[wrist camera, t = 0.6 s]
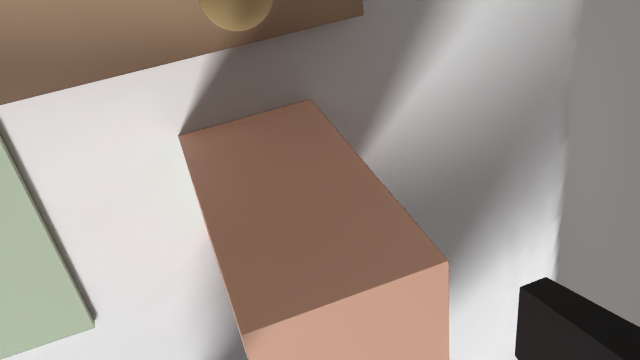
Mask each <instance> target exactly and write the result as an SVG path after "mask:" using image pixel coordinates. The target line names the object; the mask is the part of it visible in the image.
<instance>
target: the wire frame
mask: <svg viewBox="0 0 640 360" xmlns="http://www.w3.org/2000/svg"><path fill="white" fill-rule="evenodd" d="M361 15H363V5H362V0H0V105H3V104H7V103H11V102H15V101H19V100H23V99H27V98H31V97H35V96H39V95H43V94H47V93H51V92H55V91H59V90H63V89H67V88H71V87H75V86H79V85H83V84H87V83H91V82H95V81H99V80H103V79H107V78H111V77H115V76H119V75H124V74H128V73H132V72H136V71H140V70H144V69H148V68H152V67H156V66H160V65H164V64H168V63H172V62H176V61H180V60H184V59H188V58H192V57H196V56H200V55H204V54H208V53H212V52H216V51H220V50H224V49H228V48H232V47H236V46H240V45H244V44H248V43H252V42H256V41H260V40H264V39H269V38H273V37H277V36H281V35H285V34H289V33H293V32H297V31H301V30H305V29H309V28H313V27H317V26H321V25H325V24H329V23H333V22H337V21H341V20H345V19H349V18H353V17H357V16H361Z"/></svg>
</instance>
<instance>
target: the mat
mask: <svg viewBox="0 0 640 360" xmlns="http://www.w3.org/2000/svg"><path fill="white" fill-rule="evenodd" d="M93 328H95V322H94V320H93V318H92V316H91V314H90V312H89V310H88V308H87V306H86V304H85V302H84V300H83V298H82V296H81V294H80V292H79V290H78V288H77V286H76V284H75V282H74V280H73V278H72V276H71V274H70V272H69V270H68V268H67V266H66V264H65V262H64V260H63V258H62V256H61V254H60V253H59V251H58V249H57V247H56V245H55V243H54V241H53V239H52V237H51V235H50V233H49V231H48V229H47V227H46V225H45V223H44V221H43V219H42V217H41V215H40V213H39V211H38V209H37V207H36V205H35V203H34V201H33V199H32V197H31V195H30V193H29V191H28V189H27V187H26V185H25V183H24V181H23V179H22V177H21V175H20V173H19V171H18V169H17V167H16V165H15V163H14V161H13V159H12V157H11V155H10V153H9V151H8V149H7V147H6V145H5V143H4V141H3V139H2V138H1V136H0V360H1V359H4V358H7V357H10V356H13V355H16V354H19V353H22V352H25V351H27V350H30V349H33V348H36V347H39V346H42V345H45V344H48V343H51V342H54V341H57V340H60V339H63V338H66V337H69V336H72V335H75V334H78V333H81V332H84V331H87V330H90V329H93Z"/></svg>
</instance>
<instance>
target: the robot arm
mask: <svg viewBox="0 0 640 360" xmlns="http://www.w3.org/2000/svg"><path fill="white" fill-rule="evenodd" d="M515 356H516V357H517V359H518V360H640V327H638V326H636V325H635V324H633V323H630V322H629V321H627V320H625V319H623V318H621V317H619V316H618V315H616V314H614V313H612V312H610V311H608V310H606V309H604V308H602V307H601V306H599V305H597V304H595V303H593V302H592V301H590V300H588V299H586V298H584V297H582V296H581V295H579V294H577V293H575V292H573V291H571V290H569V289H568V288H566V287H564V286H562V285H560V284H558V283H556V282H555V281H553V280H551V279H549V278H547V277H545V278H542V279H540V280H537V281H535V282H532V283H530V284H527V285H524V286H522V287H520V293H519V307H518V320H517V334H516V347H515Z"/></svg>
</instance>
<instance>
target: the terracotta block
mask: <svg viewBox="0 0 640 360" xmlns="http://www.w3.org/2000/svg"><path fill="white" fill-rule="evenodd" d="M178 137H179V140H180V143H181V147H182V150H183V153H184V156H185V160H186V163H187V166H188V169H189V173H190V176H191V179H192V183H193V186H194V189H195V192H196V196H197V199H198V202H199V205H200V209H201V212H202V215H203V218H204V222H205V225H206V228H207V231H208V235H209V238H210V241H211V244H212V248H213V251H214V254H215V257H216V260H217V263H218V267H219V270H220V273H221V276H222V279H223V283H224V286H225V289H226V292H227V295H228V298H229V302H230V305H231V308H232V311H233V314H234V317H235V321H236V324H237V327H238V330H239V333H240V336H241V340H242V343H243V346H244V349H245V352H246V355H247V359H248V360H449V261H448V260H447V259H446V257H445V256H444V255H443V254H442V253H441V252H440V250H439V249H438V248H437V247H436V246H435V245H434V243H433V242H432V241H431V240H430V239H429V237H428V236H427V235H426V234H425V233H424V232H423V230H422V229H421V228H420V227H419V226H418V225H417V223H416V222H415V221H414V220H413V219H412V218H411V216H410V215H409V214H408V213H407V212H406V211H405V209H404V208H403V207H402V206H401V205H400V204H399V202H398V201H397V200H396V199H395V198H394V197H393V195H392V194H391V193H390V192H389V191H388V190H387V188H386V187H385V186H384V185H383V184H382V183H381V181H380V180H379V179H378V178H377V177H376V175H375V174H374V173H373V172H372V171H371V170H370V168H369V167H368V166H367V165H366V164H365V163H364V161H363V160H362V159H361V158H360V157H359V156H358V154H357V153H356V152H355V151H354V150H353V149H352V147H351V146H350V145H349V144H348V143H347V142H346V140H345V139H344V138H343V137H342V136H341V135H340V133H339V132H338V131H337V130H336V129H335V128H334V126H333V125H332V124H331V123H330V122H329V120H328V119H327V118H326V117H325V116H324V115H323V113H322V112H321V111H320V110H319V109H318V108H317V106H316V105H315V104H314V103H313V102H312V101H311V99H309V100H306V101H302V102H299V103H295V104H291V105H288V106H284V107H280V108H277V109H273V110H270V111H266V112H262V113H259V114H255V115H252V116H248V117H244V118H241V119H237V120H233V121H230V122H226V123H223V124H219V125H215V126H212V127H208V128H204V129H201V130H197V131H194V132H190V133H186V134H183V135H179V136H178Z"/></svg>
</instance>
